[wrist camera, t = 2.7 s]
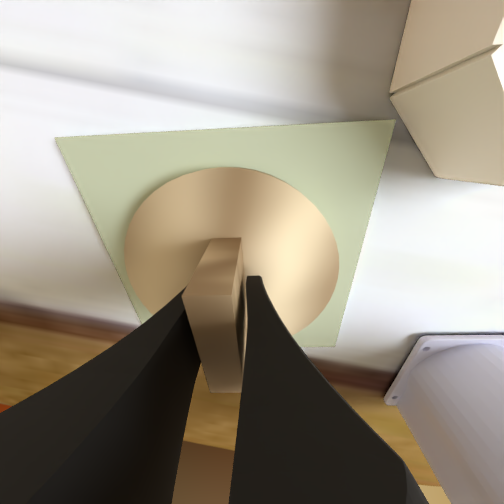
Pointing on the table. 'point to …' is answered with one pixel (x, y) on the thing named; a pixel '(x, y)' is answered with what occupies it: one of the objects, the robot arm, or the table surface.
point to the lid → (230, 258)
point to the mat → (245, 156)
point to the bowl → (454, 87)
